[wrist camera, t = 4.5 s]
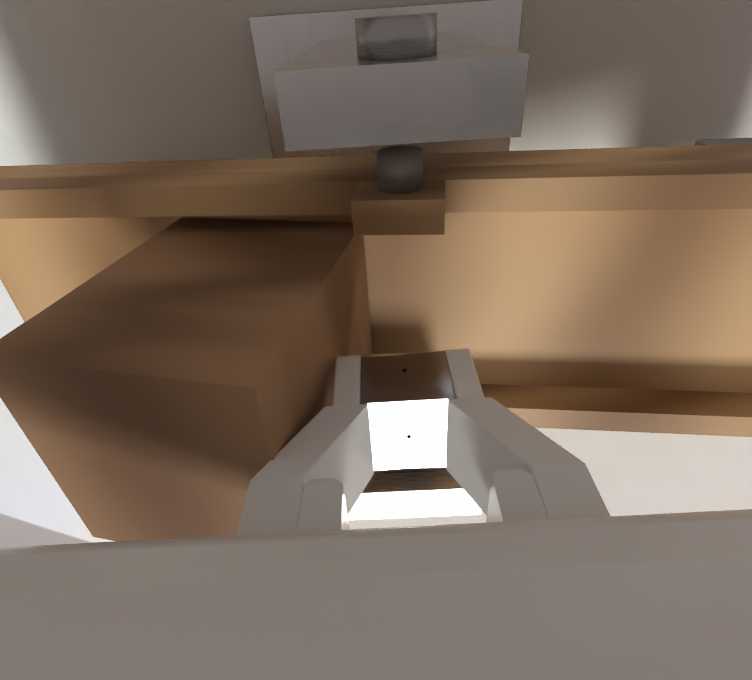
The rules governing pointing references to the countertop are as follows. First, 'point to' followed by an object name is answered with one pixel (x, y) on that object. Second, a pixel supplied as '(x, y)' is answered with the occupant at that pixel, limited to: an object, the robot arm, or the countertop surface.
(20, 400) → the block
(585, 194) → the beam
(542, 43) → the countertop surface
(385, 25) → the pivot stand
